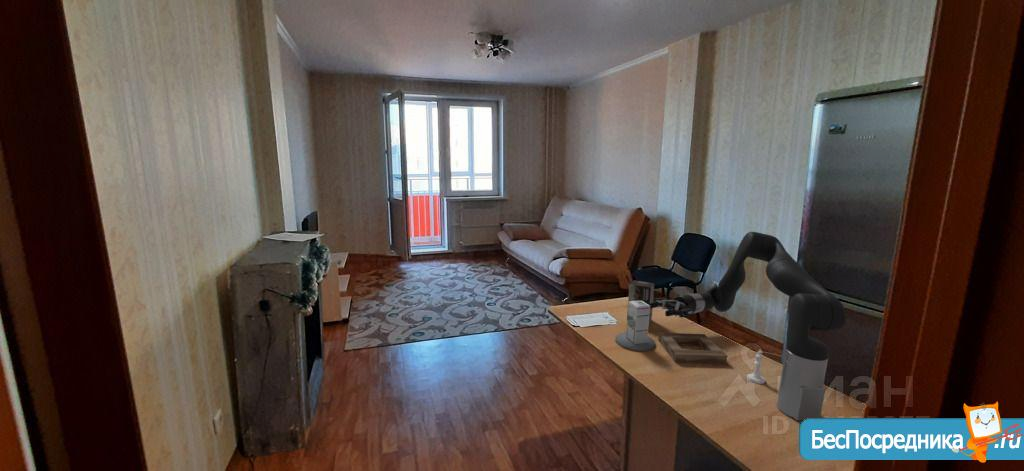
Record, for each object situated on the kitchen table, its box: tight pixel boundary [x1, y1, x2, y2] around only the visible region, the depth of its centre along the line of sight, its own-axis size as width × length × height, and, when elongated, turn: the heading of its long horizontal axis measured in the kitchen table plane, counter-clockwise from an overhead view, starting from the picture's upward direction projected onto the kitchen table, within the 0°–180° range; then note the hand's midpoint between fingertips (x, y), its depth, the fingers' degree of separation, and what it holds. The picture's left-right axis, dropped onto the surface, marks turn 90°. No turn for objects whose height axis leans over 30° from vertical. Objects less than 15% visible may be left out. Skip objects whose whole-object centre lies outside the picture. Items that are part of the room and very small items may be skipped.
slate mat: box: [614, 331, 656, 352], centre depth 152 cm, size 14×14×1 cm
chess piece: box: [746, 349, 766, 385], centre depth 127 cm, size 5×5×10 cm
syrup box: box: [626, 300, 650, 344], centre depth 150 cm, size 6×6×14 cm
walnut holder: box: [658, 332, 728, 365], centre depth 145 cm, size 17×17×3 cm
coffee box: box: [626, 280, 655, 324], centre depth 172 cm, size 9×6×16 cm
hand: (657, 309), depth 154 cm, fingers open, 8 cm apart
